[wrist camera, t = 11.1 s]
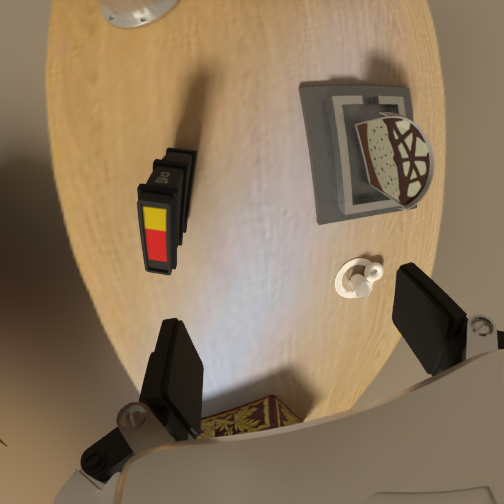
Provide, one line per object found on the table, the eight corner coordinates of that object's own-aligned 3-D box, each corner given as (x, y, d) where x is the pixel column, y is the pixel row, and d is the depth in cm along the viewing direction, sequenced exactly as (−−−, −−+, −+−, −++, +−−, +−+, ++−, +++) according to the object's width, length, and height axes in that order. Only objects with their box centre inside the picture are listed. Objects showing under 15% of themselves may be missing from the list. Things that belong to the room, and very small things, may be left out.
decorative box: (220, 446, 69) (221, 487, 55) (181, 423, 62) (177, 470, 48) (303, 421, 65) (313, 466, 51) (273, 393, 58) (282, 448, 44)
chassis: (298, 88, 32) (305, 84, 29) (405, 88, 32) (418, 86, 29) (317, 222, 41) (324, 230, 38) (413, 206, 41) (425, 212, 37)
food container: (402, 183, 38) (442, 200, 29) (371, 194, 38) (407, 214, 29) (386, 107, 33) (427, 105, 24) (351, 114, 33) (388, 111, 24)
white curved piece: (382, 256, 45) (393, 266, 41) (373, 294, 48) (382, 306, 44) (337, 257, 44) (346, 269, 40) (330, 297, 47) (338, 311, 44)
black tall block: (202, 128, 32) (173, 201, 23) (193, 204, 42) (174, 285, 33) (173, 125, 32) (132, 196, 22) (170, 201, 42) (144, 281, 32)
